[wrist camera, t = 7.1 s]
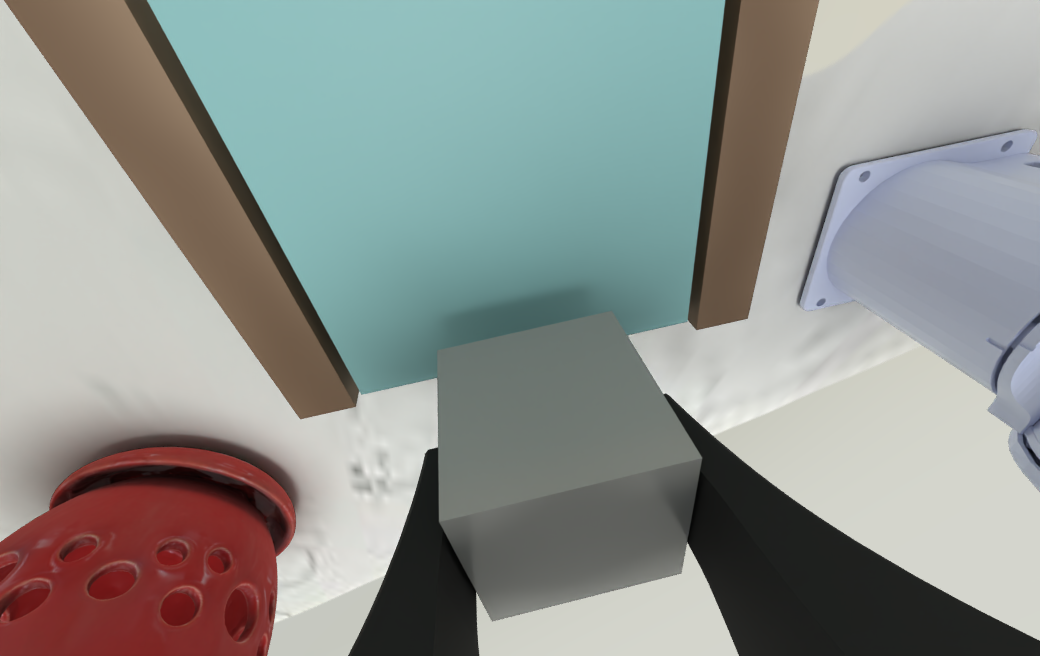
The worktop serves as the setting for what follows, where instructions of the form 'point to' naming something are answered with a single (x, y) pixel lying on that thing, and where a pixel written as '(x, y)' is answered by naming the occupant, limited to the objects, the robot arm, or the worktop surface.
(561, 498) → the granite block
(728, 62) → the hatch stand
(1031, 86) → the worktop surface
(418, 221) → the hatch flap
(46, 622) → the plant pot
